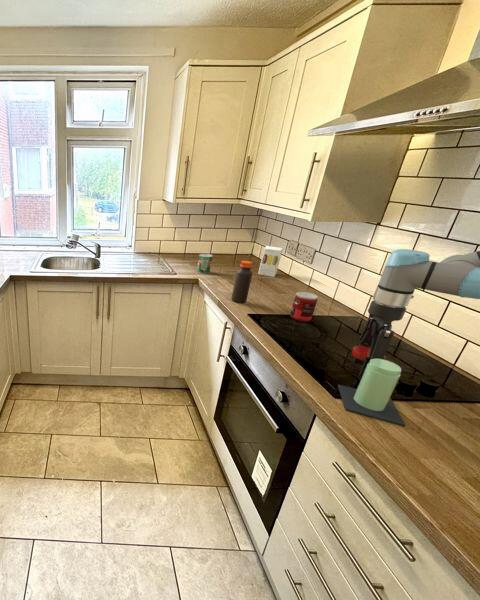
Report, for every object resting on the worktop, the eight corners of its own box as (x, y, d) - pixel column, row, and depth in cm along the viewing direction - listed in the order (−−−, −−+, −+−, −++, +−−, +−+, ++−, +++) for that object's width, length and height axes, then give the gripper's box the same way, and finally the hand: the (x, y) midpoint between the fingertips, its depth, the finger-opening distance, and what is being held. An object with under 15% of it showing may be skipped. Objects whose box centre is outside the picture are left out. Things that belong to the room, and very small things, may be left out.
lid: (345, 349, 101) (347, 344, 101) (372, 351, 100) (374, 346, 100) (361, 362, 94) (363, 357, 94) (390, 365, 93) (392, 360, 93)
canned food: (293, 312, 144) (299, 290, 140) (313, 318, 138) (321, 295, 134) (286, 317, 140) (293, 294, 135) (307, 323, 134) (315, 299, 130)
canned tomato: (212, 273, 199) (215, 256, 195) (200, 273, 198) (203, 256, 194) (205, 269, 206) (208, 253, 202) (194, 270, 205) (197, 253, 201)
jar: (380, 399, 88) (398, 362, 84) (388, 414, 83) (407, 375, 78) (351, 392, 91) (366, 355, 87) (356, 405, 86) (372, 367, 81)
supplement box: (257, 274, 197) (263, 248, 191) (259, 271, 204) (265, 245, 198) (274, 277, 192) (281, 250, 186) (276, 273, 199) (283, 247, 193)
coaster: (389, 399, 90) (390, 397, 89) (404, 426, 80) (405, 424, 80) (337, 386, 95) (338, 384, 95) (345, 410, 85) (346, 408, 85)
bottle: (231, 302, 156) (239, 262, 148) (231, 297, 161) (239, 259, 154) (246, 304, 153) (255, 264, 145) (246, 299, 159) (254, 261, 151)
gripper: (420, 319, 81) (386, 392, 89) (394, 294, 97) (368, 357, 106) (382, 313, 84) (353, 384, 93) (363, 290, 100) (340, 352, 109)
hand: (361, 370), depth 99 cm, fingers closed on lid, 7 cm apart
